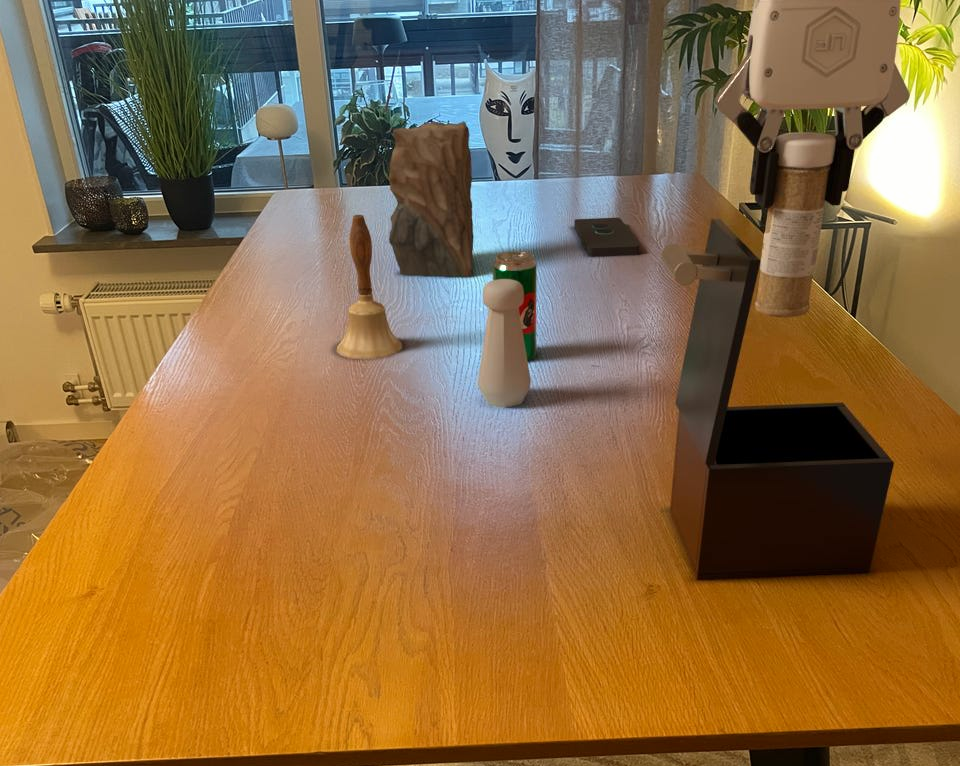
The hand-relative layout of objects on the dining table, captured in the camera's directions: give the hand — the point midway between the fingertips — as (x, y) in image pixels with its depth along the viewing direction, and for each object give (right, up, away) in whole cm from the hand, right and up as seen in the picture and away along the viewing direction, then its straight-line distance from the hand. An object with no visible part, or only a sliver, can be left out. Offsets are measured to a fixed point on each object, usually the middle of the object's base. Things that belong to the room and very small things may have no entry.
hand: (796, 200), depth 80 cm
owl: (-31, +22, +75) cm, 84 cm away
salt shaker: (-22, -9, +31) cm, 39 cm away
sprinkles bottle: (0, -7, +5) cm, 9 cm away
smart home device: (-4, +31, +87) cm, 92 cm away
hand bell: (-39, +1, +46) cm, 61 cm away
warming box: (-1, -27, +4) cm, 27 cm away
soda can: (-21, -1, +42) cm, 47 cm away
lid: (-8, -13, -6) cm, 16 cm away
